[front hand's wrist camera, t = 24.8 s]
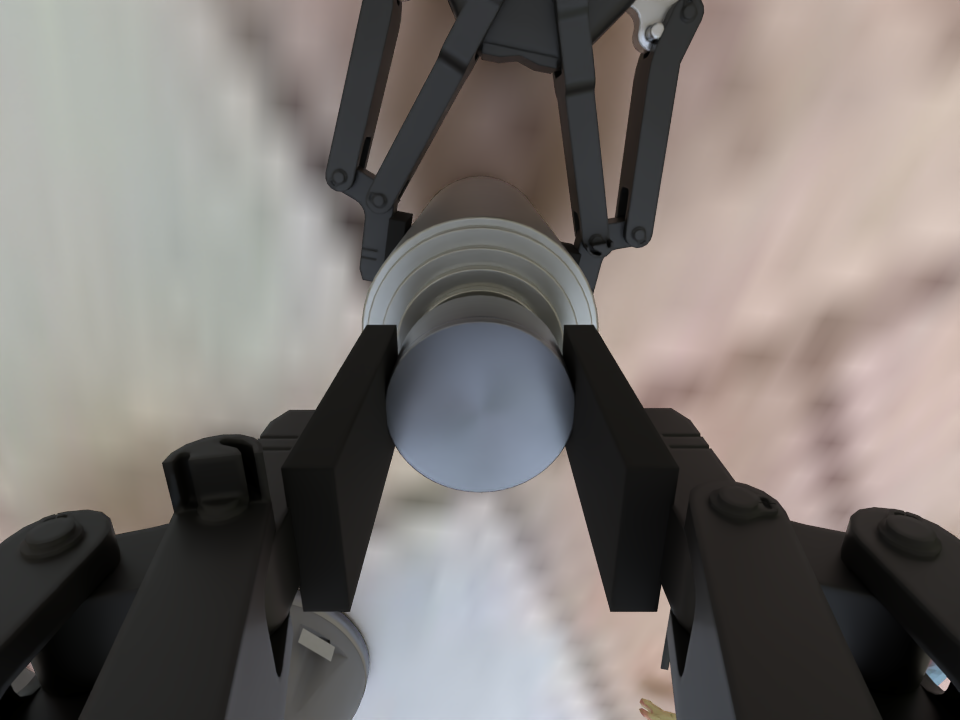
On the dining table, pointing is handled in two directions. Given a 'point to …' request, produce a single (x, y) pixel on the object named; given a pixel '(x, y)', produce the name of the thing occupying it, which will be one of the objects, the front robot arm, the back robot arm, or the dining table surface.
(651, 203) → the back robot arm
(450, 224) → the bottle
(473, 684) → the dining table surface
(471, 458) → the cap
